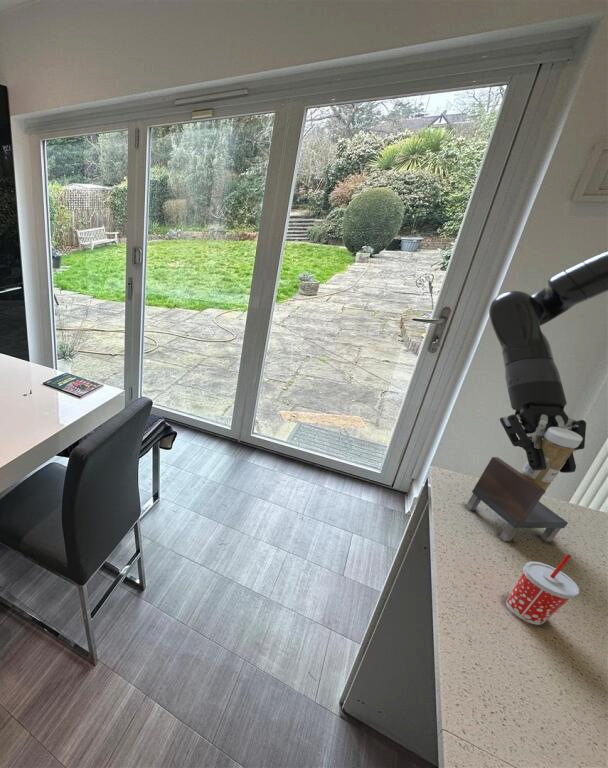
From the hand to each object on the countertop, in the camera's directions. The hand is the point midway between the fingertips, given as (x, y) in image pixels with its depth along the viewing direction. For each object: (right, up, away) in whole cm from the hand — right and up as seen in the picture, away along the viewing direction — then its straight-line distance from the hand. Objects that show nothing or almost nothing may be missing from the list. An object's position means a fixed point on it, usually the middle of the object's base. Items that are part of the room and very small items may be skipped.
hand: (553, 470), depth 77 cm
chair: (0, -13, +9) cm, 16 cm away
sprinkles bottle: (0, -5, +5) cm, 7 cm away
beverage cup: (-15, -22, -9) cm, 28 cm away
